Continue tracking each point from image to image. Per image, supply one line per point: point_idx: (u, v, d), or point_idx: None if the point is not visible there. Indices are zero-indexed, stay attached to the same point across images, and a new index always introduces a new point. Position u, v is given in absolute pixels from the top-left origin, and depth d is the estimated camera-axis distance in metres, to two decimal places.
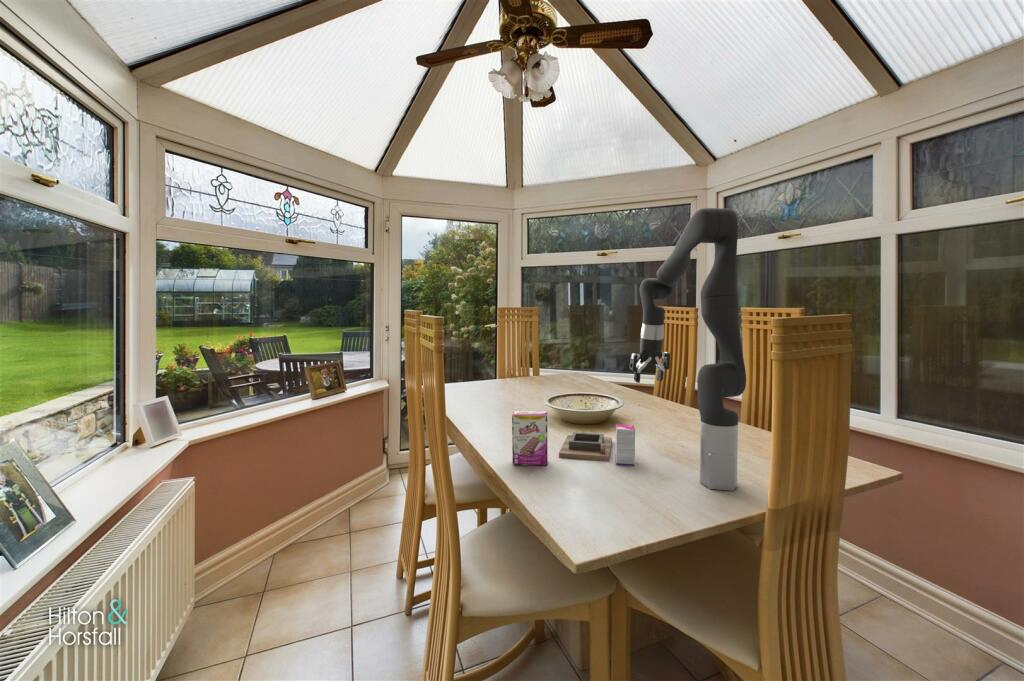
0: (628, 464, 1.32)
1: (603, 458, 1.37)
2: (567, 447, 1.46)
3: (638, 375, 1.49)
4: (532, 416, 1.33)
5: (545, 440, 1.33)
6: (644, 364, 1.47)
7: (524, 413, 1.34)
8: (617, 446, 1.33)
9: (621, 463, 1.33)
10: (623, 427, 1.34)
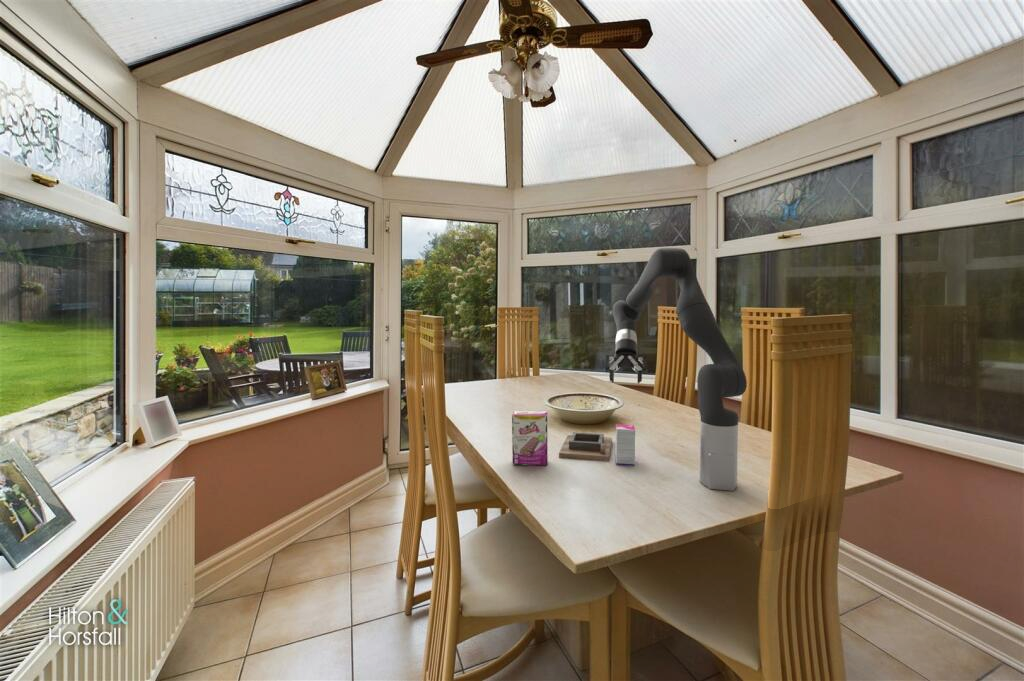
0: (628, 464, 1.32)
1: (603, 458, 1.37)
2: (567, 447, 1.46)
3: (611, 372, 1.47)
4: (532, 416, 1.33)
5: (545, 440, 1.33)
6: (616, 362, 1.48)
7: (524, 413, 1.34)
8: (617, 446, 1.33)
9: (621, 463, 1.33)
10: (623, 427, 1.34)
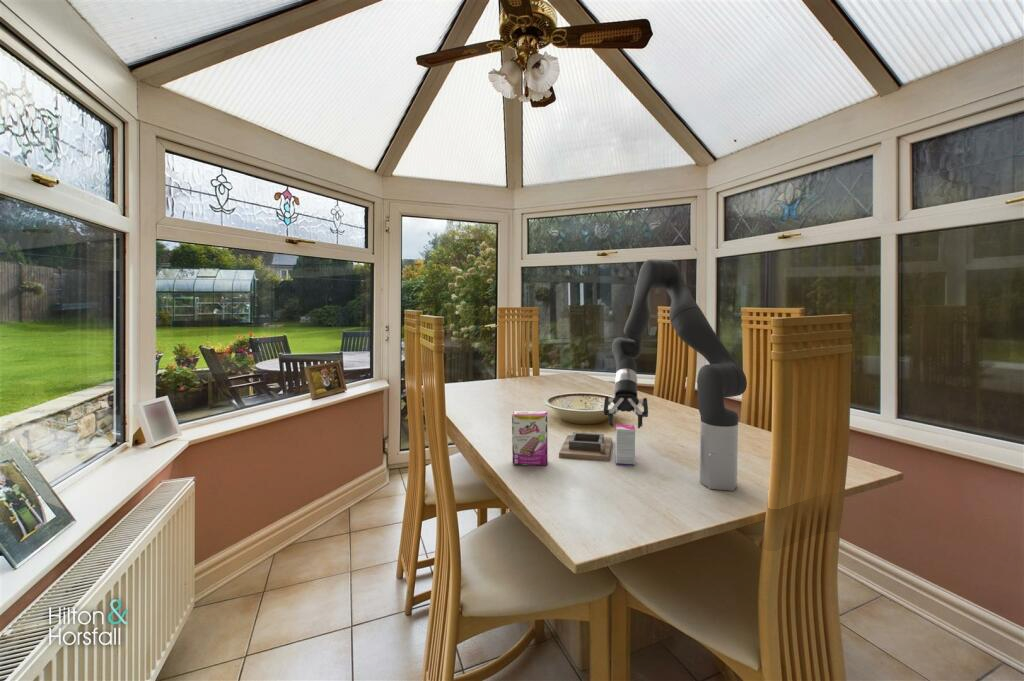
0: (628, 464, 1.32)
1: (603, 458, 1.37)
2: (567, 447, 1.46)
3: (611, 416, 1.41)
4: (532, 416, 1.33)
5: (545, 440, 1.33)
6: (616, 404, 1.43)
7: (524, 413, 1.34)
8: (617, 446, 1.33)
9: (621, 463, 1.33)
10: (623, 427, 1.34)
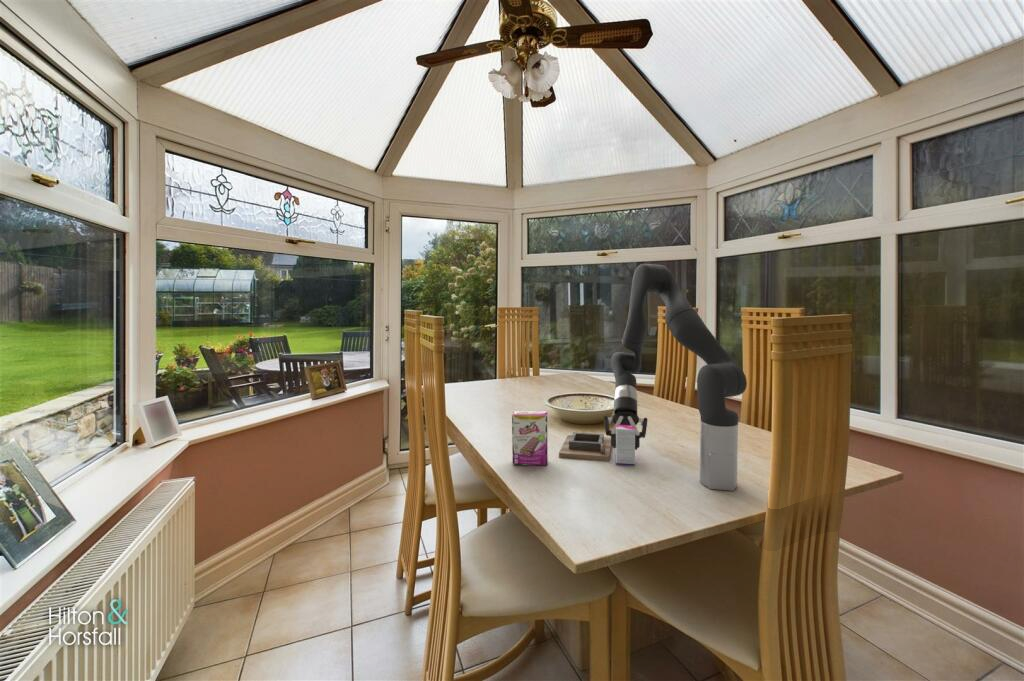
0: (628, 464, 1.32)
1: (603, 458, 1.37)
2: (567, 447, 1.46)
3: (613, 437, 1.35)
4: (532, 416, 1.33)
5: (545, 440, 1.33)
6: (617, 424, 1.37)
7: (524, 413, 1.34)
8: (617, 446, 1.33)
9: (621, 463, 1.33)
10: (623, 427, 1.34)
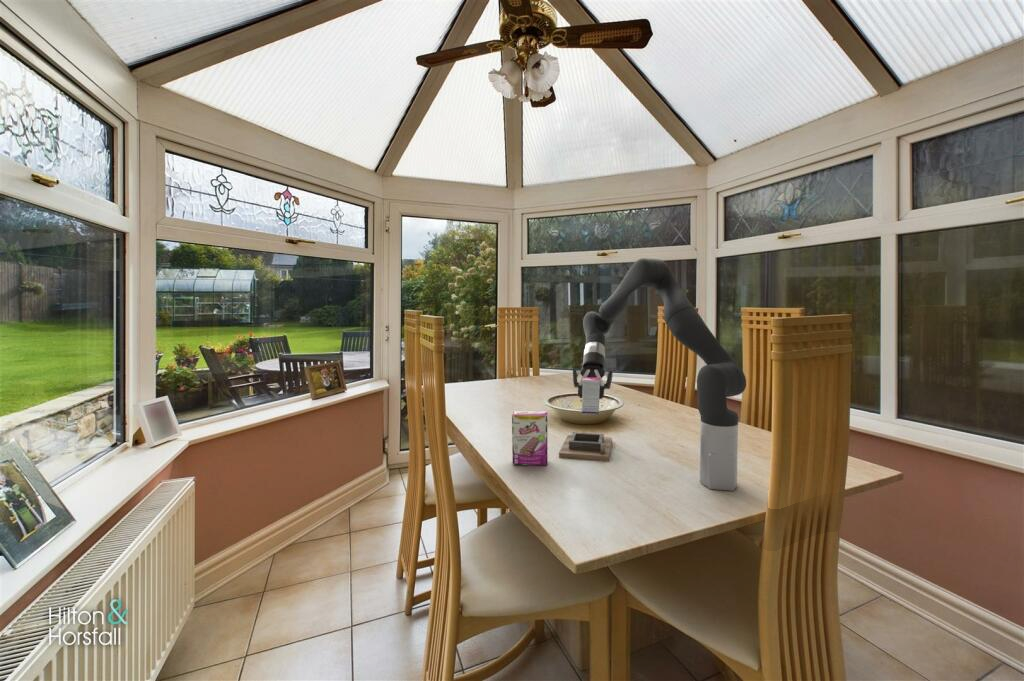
0: (593, 412, 1.43)
1: (603, 458, 1.37)
2: (567, 447, 1.46)
3: (580, 388, 1.46)
4: (532, 416, 1.33)
5: (545, 440, 1.33)
6: (584, 376, 1.48)
7: (524, 413, 1.34)
8: (583, 395, 1.44)
9: (586, 411, 1.44)
10: (589, 378, 1.45)
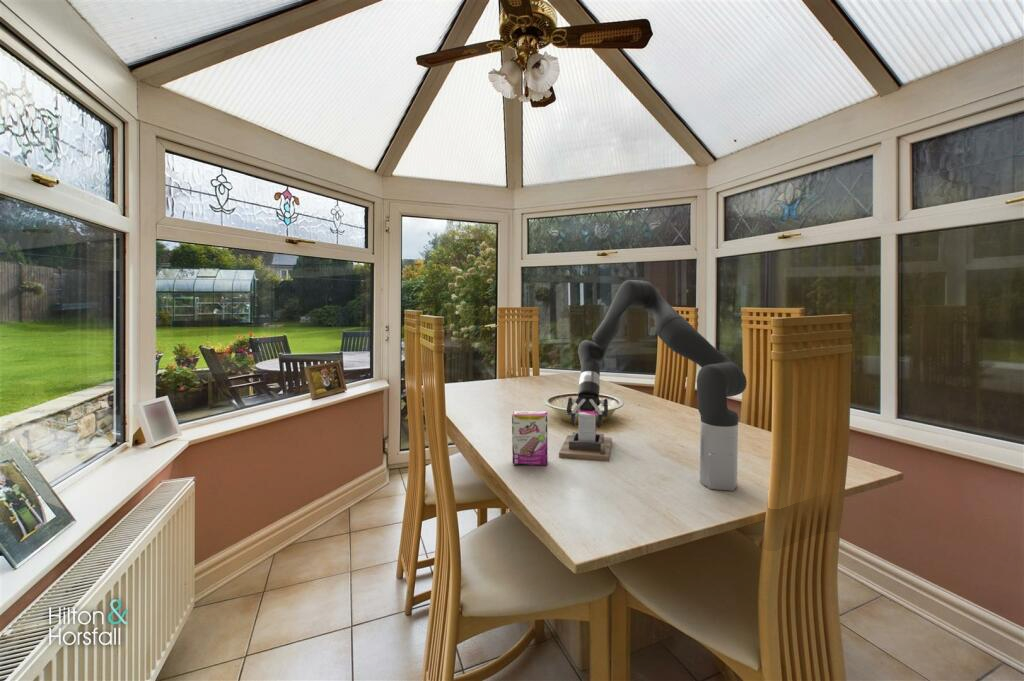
0: None
1: (603, 458, 1.37)
2: (567, 447, 1.46)
3: (573, 416, 1.49)
4: (532, 416, 1.33)
5: (545, 440, 1.33)
6: (578, 405, 1.50)
7: (524, 413, 1.34)
8: (579, 429, 1.46)
9: None
10: (585, 412, 1.47)
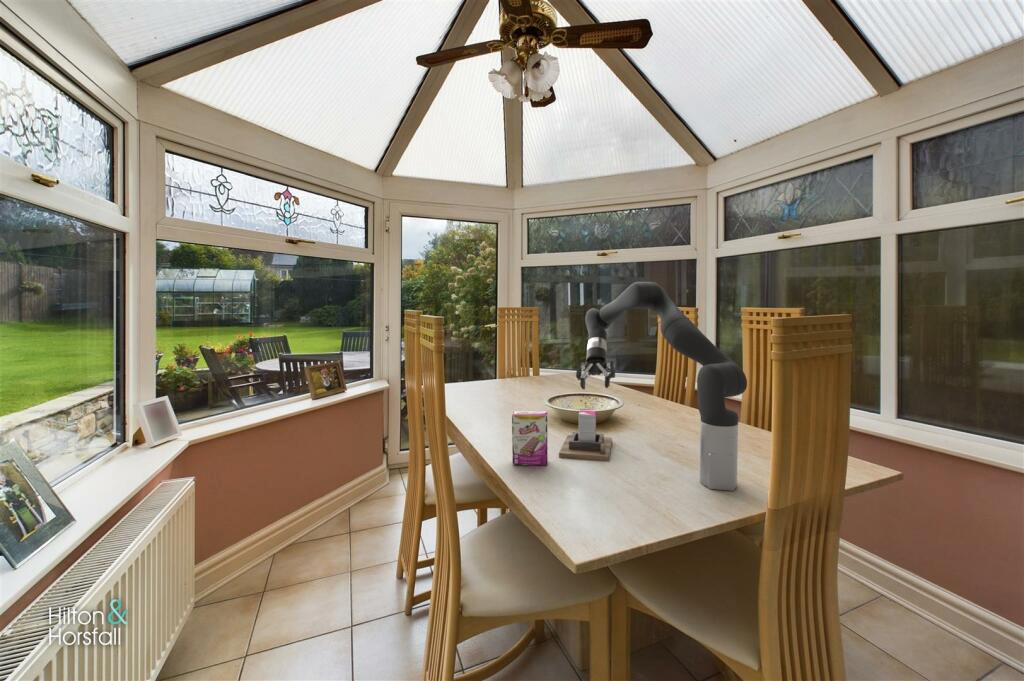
0: None
1: (603, 458, 1.37)
2: (567, 447, 1.46)
3: (582, 380, 1.60)
4: (532, 416, 1.33)
5: (545, 440, 1.33)
6: (586, 370, 1.61)
7: (524, 413, 1.34)
8: (579, 429, 1.46)
9: None
10: (585, 412, 1.47)
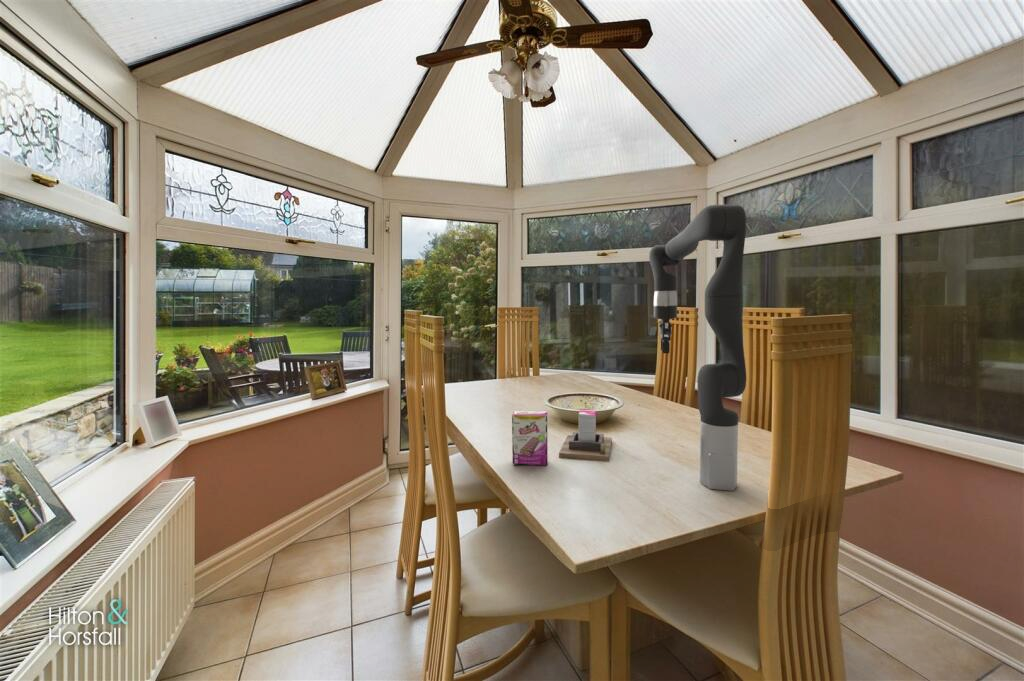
0: None
1: (603, 458, 1.37)
2: (567, 447, 1.46)
3: None
4: (532, 416, 1.33)
5: (545, 440, 1.33)
6: (659, 331, 1.50)
7: (524, 413, 1.34)
8: (579, 429, 1.46)
9: None
10: (585, 412, 1.47)
